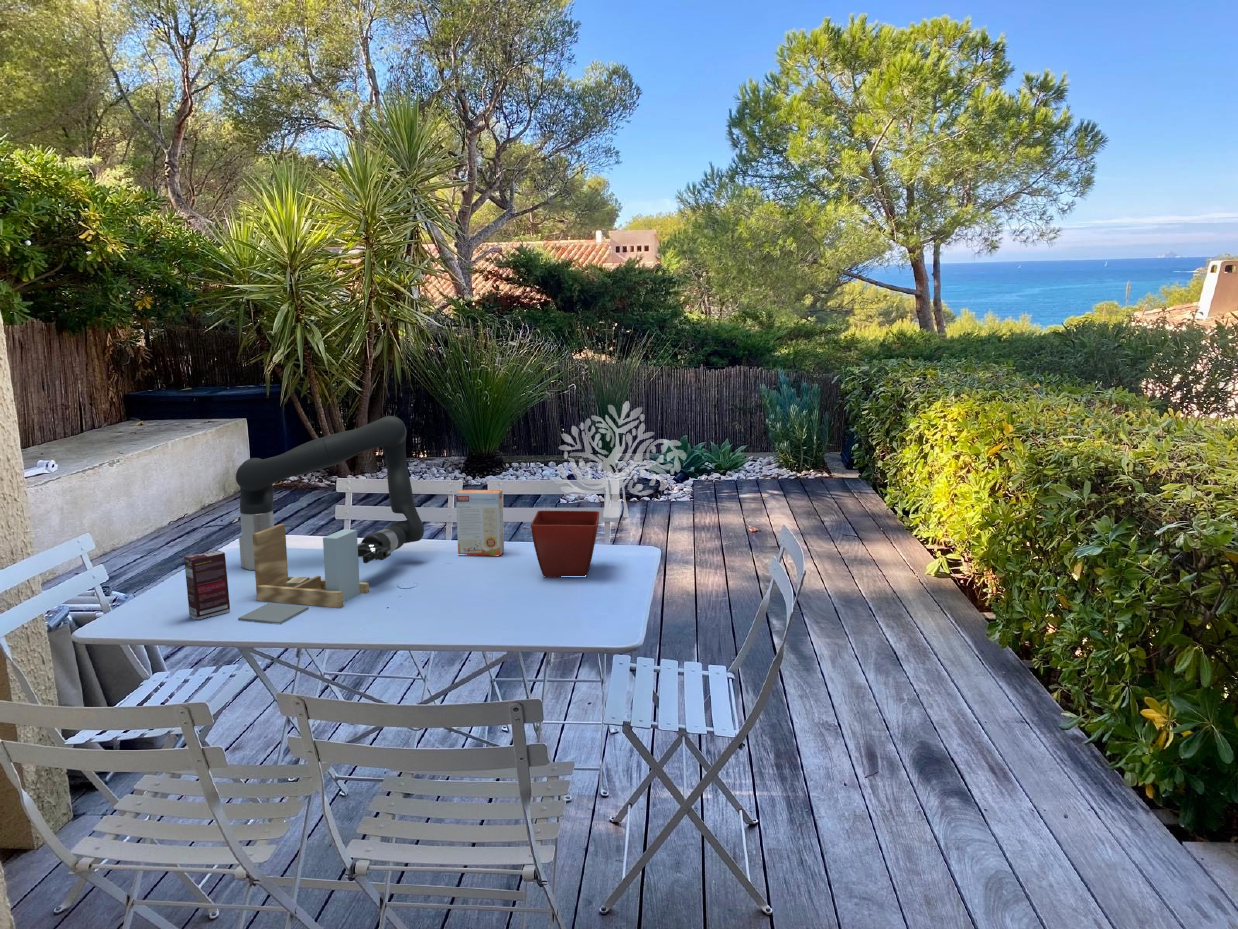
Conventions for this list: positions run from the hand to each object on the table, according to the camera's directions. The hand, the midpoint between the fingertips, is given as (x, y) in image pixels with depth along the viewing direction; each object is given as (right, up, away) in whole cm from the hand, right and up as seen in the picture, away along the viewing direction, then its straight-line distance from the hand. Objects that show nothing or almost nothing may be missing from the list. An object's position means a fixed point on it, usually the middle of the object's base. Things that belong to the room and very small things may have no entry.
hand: (350, 558), depth 234 cm
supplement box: (-31, -13, -15) cm, 37 cm away
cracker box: (+29, -4, +43) cm, 52 cm away
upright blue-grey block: (-1, -11, -2) cm, 11 cm away
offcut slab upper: (-15, -8, +1) cm, 17 cm away
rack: (-10, -10, 0) cm, 14 cm away
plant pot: (+58, -7, +23) cm, 63 cm away
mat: (-15, -13, -15) cm, 25 cm away
